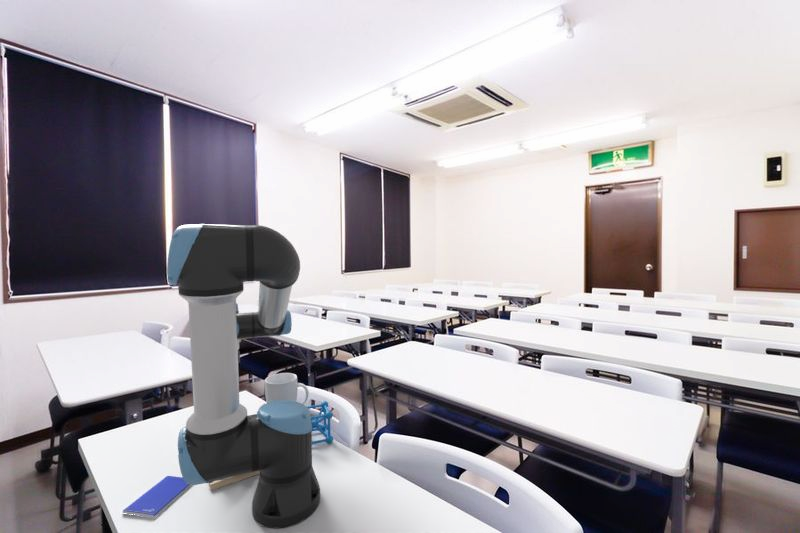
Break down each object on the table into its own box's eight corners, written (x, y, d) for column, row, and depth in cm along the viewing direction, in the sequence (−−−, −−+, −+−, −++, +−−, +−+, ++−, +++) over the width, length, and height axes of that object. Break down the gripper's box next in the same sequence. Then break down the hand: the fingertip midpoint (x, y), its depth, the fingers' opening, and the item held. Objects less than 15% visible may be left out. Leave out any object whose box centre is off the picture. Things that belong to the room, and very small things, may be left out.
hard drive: (154, 514, 79) (194, 478, 92) (122, 509, 81) (166, 475, 93) (154, 520, 79) (194, 484, 92) (122, 516, 81) (166, 481, 93)
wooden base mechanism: (261, 472, 95) (260, 449, 95) (210, 490, 88) (209, 466, 88) (242, 435, 114) (241, 416, 114) (199, 448, 107) (198, 427, 107)
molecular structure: (333, 444, 109) (333, 412, 108) (300, 451, 105) (299, 418, 105) (328, 428, 118) (327, 399, 118) (296, 434, 114) (296, 404, 114)
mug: (309, 404, 136) (308, 370, 136) (308, 417, 126) (307, 381, 125) (268, 408, 133) (267, 374, 132) (263, 422, 122) (262, 385, 122)
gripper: (243, 354, 109) (246, 430, 110) (235, 345, 119) (237, 414, 121) (216, 359, 104) (219, 437, 106) (210, 348, 115) (212, 420, 116)
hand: (228, 424), depth 113 cm, fingers closed
